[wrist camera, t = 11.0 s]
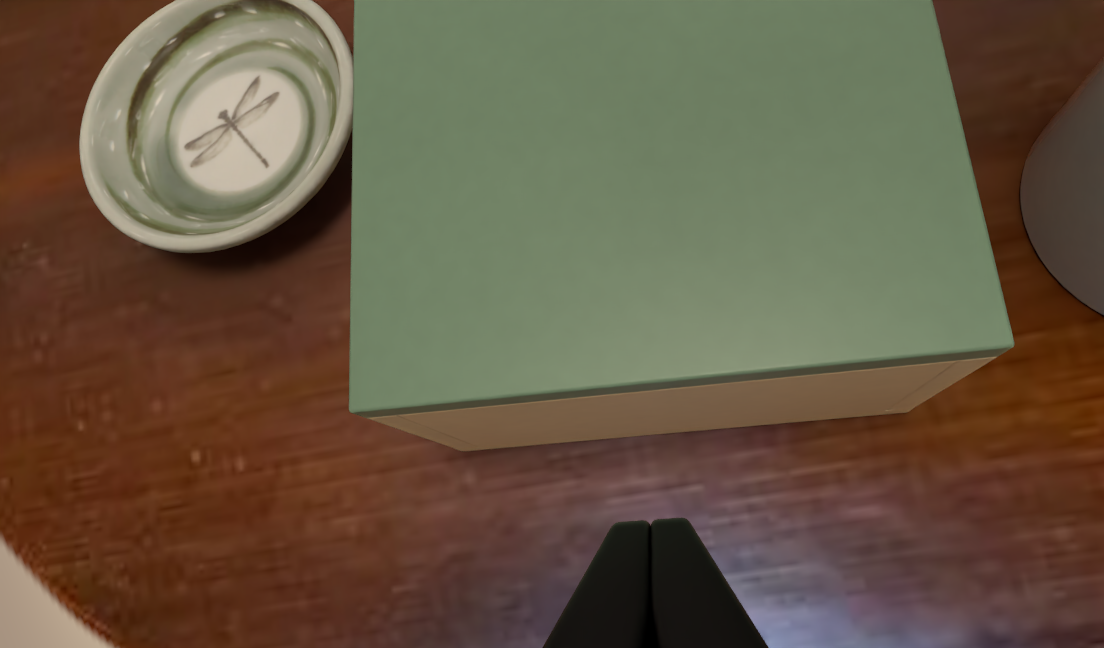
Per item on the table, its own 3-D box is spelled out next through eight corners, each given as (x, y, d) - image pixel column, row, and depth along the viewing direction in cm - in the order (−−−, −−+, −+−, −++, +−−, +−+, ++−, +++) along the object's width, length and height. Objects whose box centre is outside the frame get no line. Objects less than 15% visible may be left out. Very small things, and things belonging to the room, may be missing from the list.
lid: (367, 9, 19) (353, -13, 18) (895, -92, 17) (904, -122, 16) (364, 418, 16) (346, 413, 15) (1000, 357, 14) (1016, 346, 13)
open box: (452, 162, 25) (366, 37, 19) (848, 102, 23) (902, -63, 17) (461, 451, 22) (365, 419, 16) (908, 412, 20) (999, 357, 14)
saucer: (261, 328, 25) (216, 306, 23) (79, 188, 28) (23, 156, 25) (437, 95, 26) (411, 52, 24) (244, -16, 29) (204, -64, 26)
